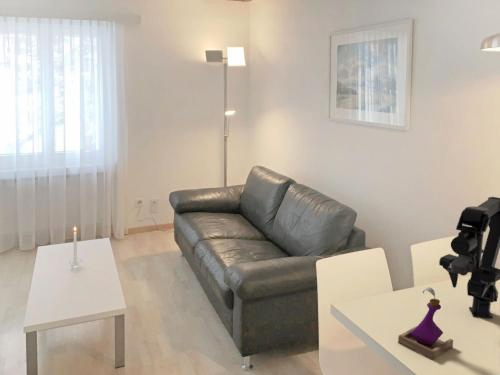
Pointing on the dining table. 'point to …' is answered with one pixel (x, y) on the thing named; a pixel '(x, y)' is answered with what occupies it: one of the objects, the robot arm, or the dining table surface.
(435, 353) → the wooden tray
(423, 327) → the perfume bottle
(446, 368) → the dining table surface
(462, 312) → the dining table surface
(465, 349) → the dining table surface
